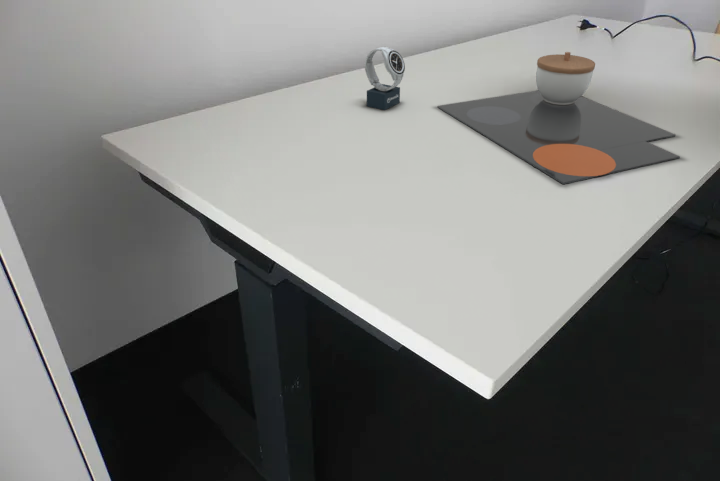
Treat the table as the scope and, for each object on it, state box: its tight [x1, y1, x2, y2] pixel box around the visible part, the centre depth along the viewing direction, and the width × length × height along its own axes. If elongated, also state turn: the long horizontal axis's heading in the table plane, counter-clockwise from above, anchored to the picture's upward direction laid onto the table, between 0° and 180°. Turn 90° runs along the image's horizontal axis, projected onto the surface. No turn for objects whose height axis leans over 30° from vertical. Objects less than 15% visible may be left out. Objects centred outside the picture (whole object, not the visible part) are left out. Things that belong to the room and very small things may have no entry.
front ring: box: [533, 144, 616, 177], centre depth 85 cm, size 12×12×1 cm
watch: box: [364, 46, 406, 111], centre depth 106 cm, size 6×8×11 cm
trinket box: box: [535, 51, 596, 105], centre depth 106 cm, size 11×11×9 cm
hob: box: [437, 90, 681, 185], centre depth 97 cm, size 30×37×1 cm
